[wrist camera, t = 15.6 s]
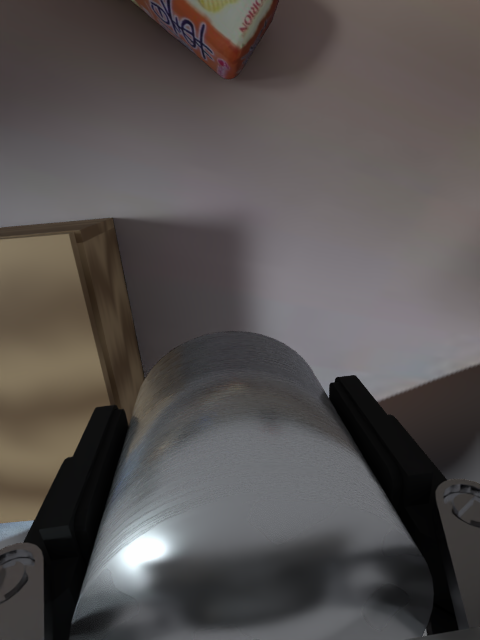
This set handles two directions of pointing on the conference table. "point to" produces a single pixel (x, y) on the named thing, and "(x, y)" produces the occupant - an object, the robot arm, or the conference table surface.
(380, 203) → the conference table surface
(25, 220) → the conference table surface
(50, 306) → the lid
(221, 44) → the snack package
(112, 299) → the tan wicker box
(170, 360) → the steel weight
